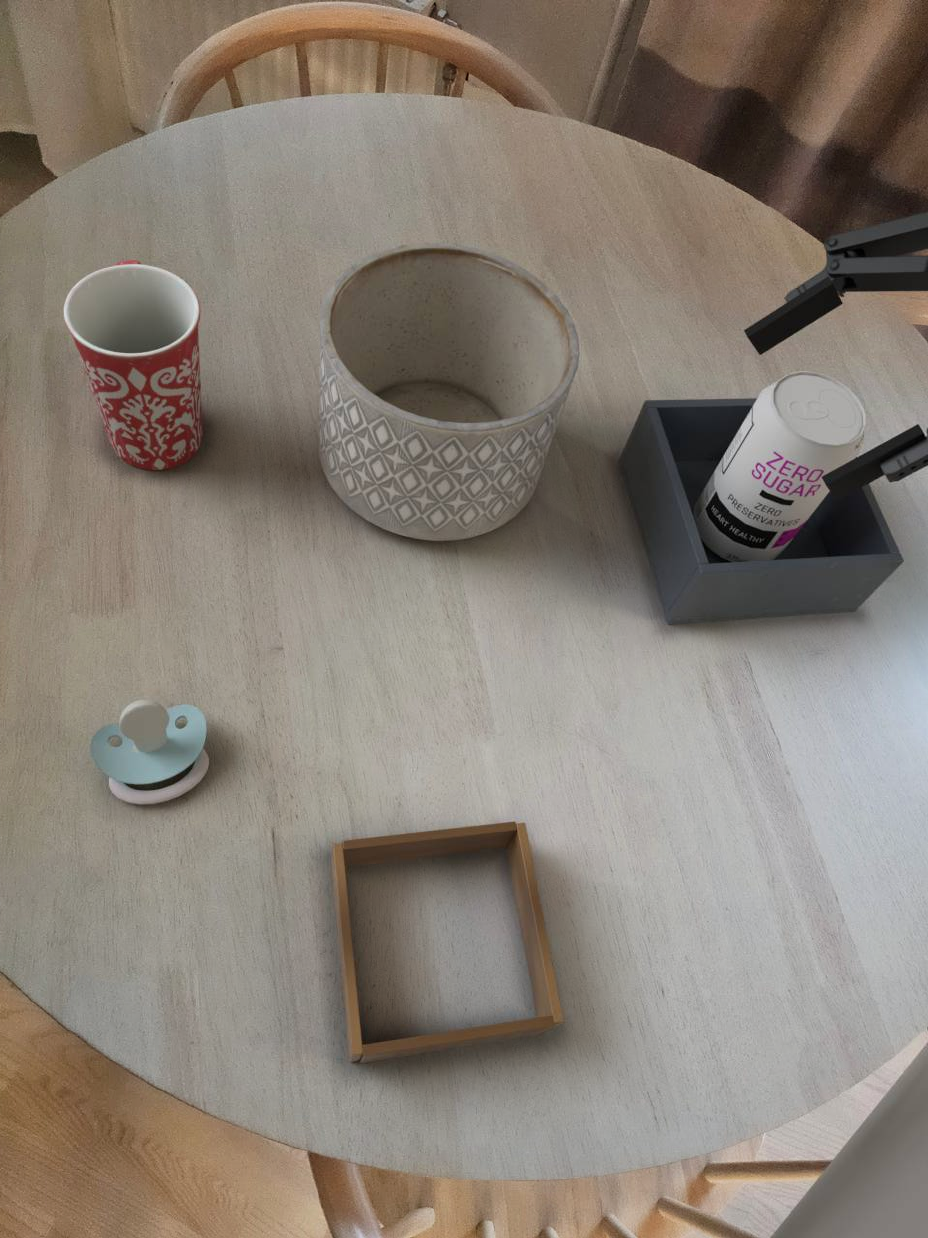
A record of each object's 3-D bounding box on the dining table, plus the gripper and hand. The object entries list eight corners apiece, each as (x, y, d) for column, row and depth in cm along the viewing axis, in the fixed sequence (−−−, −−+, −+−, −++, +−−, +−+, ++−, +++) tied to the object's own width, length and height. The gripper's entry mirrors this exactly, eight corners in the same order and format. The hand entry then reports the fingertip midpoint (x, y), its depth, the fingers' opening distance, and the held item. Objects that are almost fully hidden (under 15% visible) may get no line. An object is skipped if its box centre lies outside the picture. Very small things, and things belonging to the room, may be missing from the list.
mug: (220, 476, 76) (205, 351, 64) (100, 485, 74) (63, 358, 62) (207, 361, 82) (191, 227, 70) (96, 366, 80) (61, 229, 68)
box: (549, 1033, 58) (564, 1024, 55) (349, 1065, 56) (352, 1058, 52) (513, 838, 64) (524, 820, 61) (330, 859, 62) (332, 841, 58)
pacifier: (223, 787, 63) (200, 708, 66) (216, 754, 58) (192, 669, 60) (110, 821, 61) (91, 738, 63) (92, 791, 56) (72, 701, 58)
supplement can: (764, 488, 83) (849, 363, 70) (796, 567, 79) (892, 450, 66) (678, 493, 81) (748, 365, 68) (706, 573, 77) (787, 454, 64)
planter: (360, 576, 73) (371, 455, 61) (289, 399, 81) (286, 260, 68) (573, 521, 79) (623, 401, 66) (487, 361, 87) (518, 227, 74)
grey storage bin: (854, 611, 78) (904, 561, 72) (667, 625, 75) (701, 573, 68) (790, 454, 86) (829, 396, 80) (618, 460, 83) (645, 399, 76)
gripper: (1235, 402, 55) (879, 575, 64) (1015, 135, 66) (740, 314, 75) (1244, 339, 49) (851, 539, 58) (1001, 58, 60) (705, 262, 70)
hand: (788, 412), depth 67 cm, fingers open, 13 cm apart
